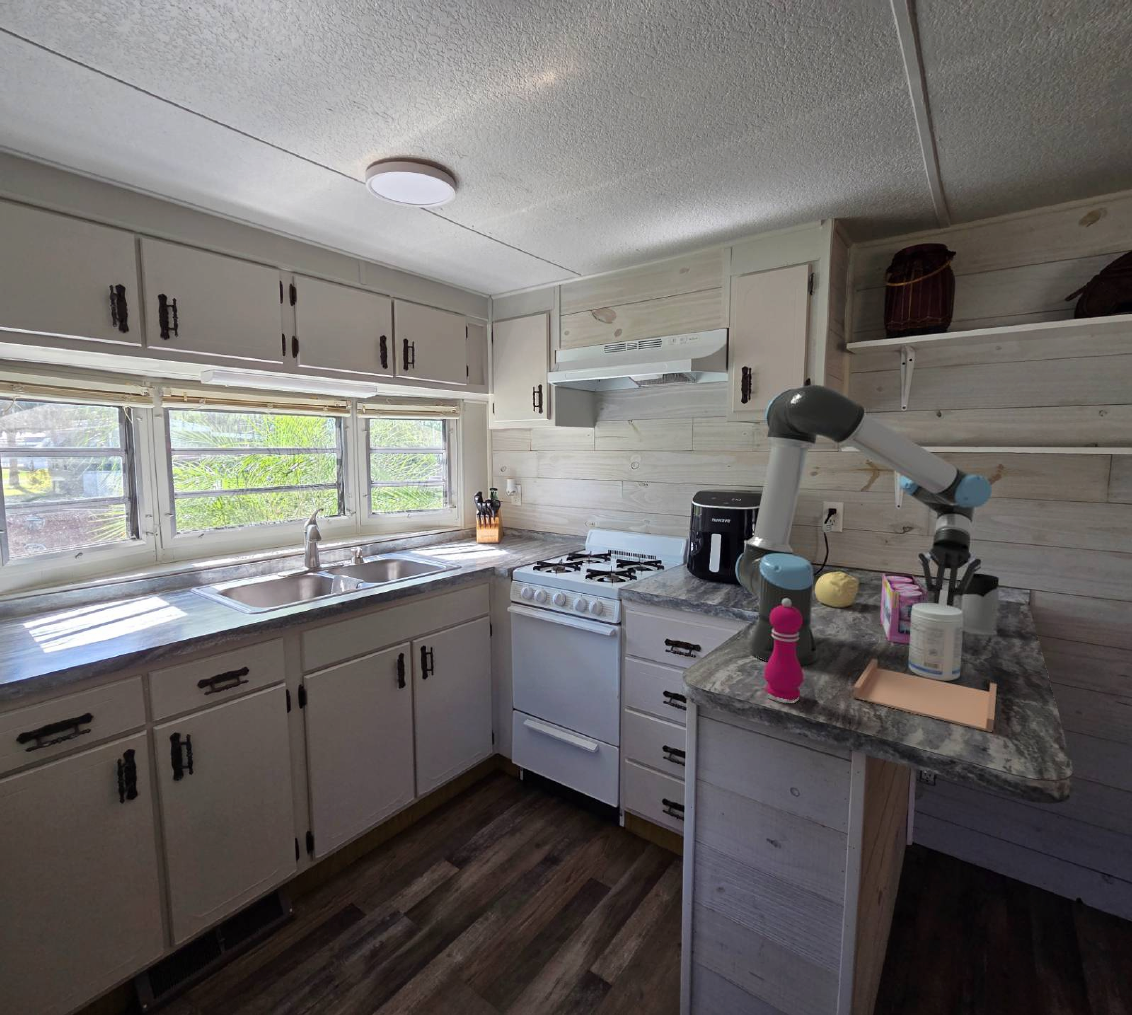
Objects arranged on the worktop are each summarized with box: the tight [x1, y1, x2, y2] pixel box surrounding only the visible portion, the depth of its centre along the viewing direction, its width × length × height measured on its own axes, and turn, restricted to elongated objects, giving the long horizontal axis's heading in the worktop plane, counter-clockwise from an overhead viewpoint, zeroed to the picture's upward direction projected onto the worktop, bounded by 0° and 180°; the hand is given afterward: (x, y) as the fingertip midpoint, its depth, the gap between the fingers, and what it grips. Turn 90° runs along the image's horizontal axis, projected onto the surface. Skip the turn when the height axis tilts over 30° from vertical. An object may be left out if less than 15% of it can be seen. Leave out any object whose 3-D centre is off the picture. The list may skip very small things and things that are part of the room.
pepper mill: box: [763, 598, 804, 700], centre depth 110 cm, size 7×7×20 cm
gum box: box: [880, 572, 927, 645], centre depth 151 cm, size 24×8×14 cm, turn 156°
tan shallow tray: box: [852, 658, 998, 732], centre depth 111 cm, size 19×22×2 cm
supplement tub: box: [908, 602, 964, 682], centre depth 123 cm, size 10×10×15 cm
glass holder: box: [943, 572, 1000, 636], centre depth 155 cm, size 9×14×15 cm, turn 33°
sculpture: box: [814, 571, 860, 608], centre depth 178 cm, size 11×12×11 cm
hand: (941, 616), depth 130 cm, fingers closed
